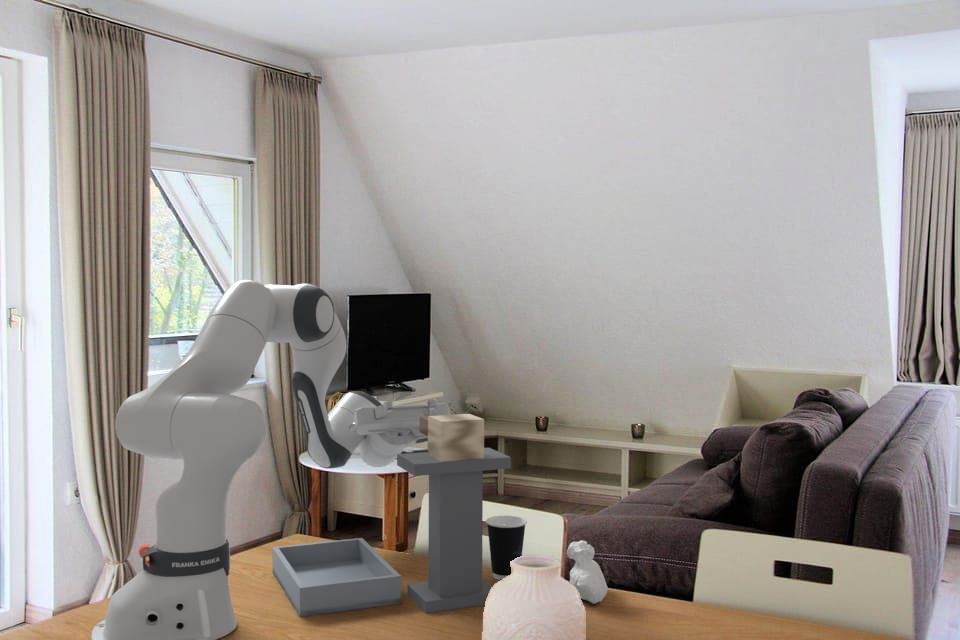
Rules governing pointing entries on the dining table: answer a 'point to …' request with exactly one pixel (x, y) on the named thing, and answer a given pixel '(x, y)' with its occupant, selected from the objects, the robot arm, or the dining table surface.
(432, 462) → the stand
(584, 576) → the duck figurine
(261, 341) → the robot arm
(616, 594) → the dining table surface
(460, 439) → the mallet
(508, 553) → the dixie cup
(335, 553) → the tray
